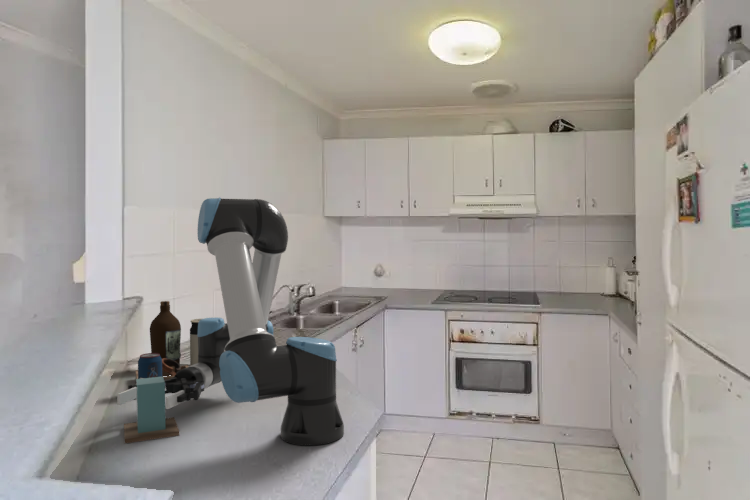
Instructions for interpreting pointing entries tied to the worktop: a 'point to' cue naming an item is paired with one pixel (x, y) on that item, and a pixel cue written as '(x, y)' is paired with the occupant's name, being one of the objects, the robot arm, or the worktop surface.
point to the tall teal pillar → (150, 404)
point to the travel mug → (194, 341)
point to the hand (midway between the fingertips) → (142, 401)
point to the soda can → (149, 365)
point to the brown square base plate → (134, 436)
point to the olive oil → (166, 334)
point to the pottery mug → (170, 369)
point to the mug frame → (166, 373)
